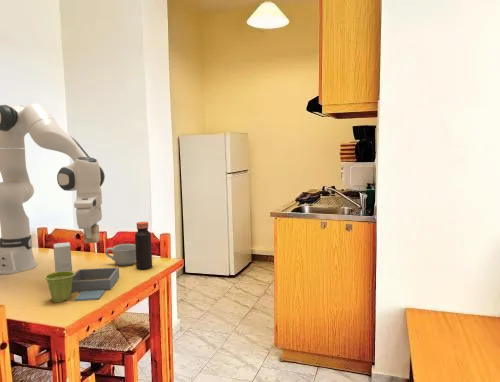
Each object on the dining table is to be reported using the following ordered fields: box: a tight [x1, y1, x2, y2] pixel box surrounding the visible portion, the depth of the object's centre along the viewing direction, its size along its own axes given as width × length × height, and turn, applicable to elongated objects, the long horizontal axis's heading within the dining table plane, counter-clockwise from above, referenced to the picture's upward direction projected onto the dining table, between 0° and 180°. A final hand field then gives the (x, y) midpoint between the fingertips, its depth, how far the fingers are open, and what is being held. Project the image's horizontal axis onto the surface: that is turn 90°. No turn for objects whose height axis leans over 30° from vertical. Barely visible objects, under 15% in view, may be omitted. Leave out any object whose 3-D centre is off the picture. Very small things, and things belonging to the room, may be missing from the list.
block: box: [82, 224, 100, 244], centre depth 160 cm, size 4×4×6 cm
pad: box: [74, 290, 105, 302], centre depth 149 cm, size 8×8×1 cm
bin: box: [71, 267, 120, 293], centre depth 162 cm, size 16×16×4 cm
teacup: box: [104, 243, 136, 267], centre depth 190 cm, size 14×11×8 cm
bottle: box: [134, 221, 153, 271], centre depth 182 cm, size 7×7×20 cm
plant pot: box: [44, 271, 76, 303], centre depth 147 cm, size 9×9×9 cm
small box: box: [53, 241, 73, 273], centre depth 174 cm, size 8×6×13 cm
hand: (91, 236), depth 160 cm, fingers closed on block, 4 cm apart
